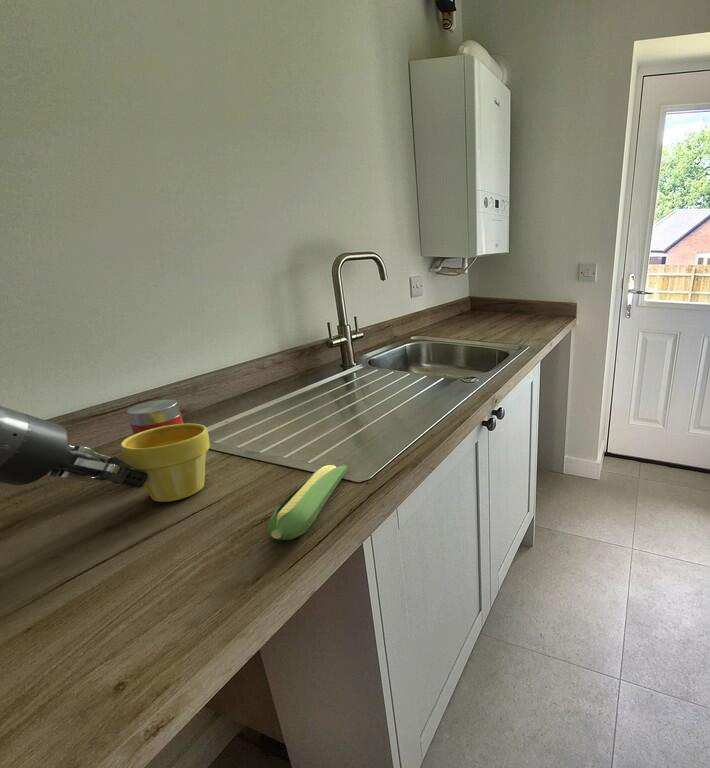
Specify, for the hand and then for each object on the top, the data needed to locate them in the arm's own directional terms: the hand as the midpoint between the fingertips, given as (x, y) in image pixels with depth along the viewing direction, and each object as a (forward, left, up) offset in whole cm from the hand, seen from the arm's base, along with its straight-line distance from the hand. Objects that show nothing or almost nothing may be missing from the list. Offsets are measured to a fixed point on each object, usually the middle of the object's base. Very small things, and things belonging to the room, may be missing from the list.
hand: (141, 480), depth 60 cm
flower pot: (+4, +2, -5) cm, 7 cm away
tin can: (+5, +14, -5) cm, 16 cm away
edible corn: (+17, -18, -5) cm, 25 cm away
